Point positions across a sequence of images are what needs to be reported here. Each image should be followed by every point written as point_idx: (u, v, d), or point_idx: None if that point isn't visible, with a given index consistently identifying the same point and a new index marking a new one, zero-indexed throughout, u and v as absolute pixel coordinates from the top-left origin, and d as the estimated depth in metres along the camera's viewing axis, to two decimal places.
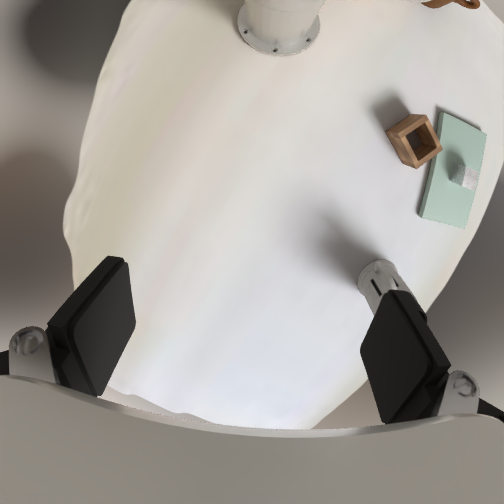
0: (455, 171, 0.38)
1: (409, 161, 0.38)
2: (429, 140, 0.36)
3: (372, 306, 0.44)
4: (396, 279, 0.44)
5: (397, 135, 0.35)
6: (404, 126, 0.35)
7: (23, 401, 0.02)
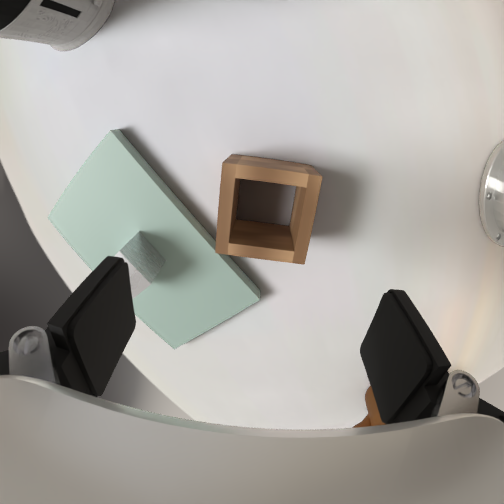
0: (150, 255, 0.23)
1: (242, 161, 0.19)
2: (246, 236, 0.21)
3: None
4: (54, 15, 0.10)
5: (315, 173, 0.18)
6: None
7: (23, 401, 0.02)
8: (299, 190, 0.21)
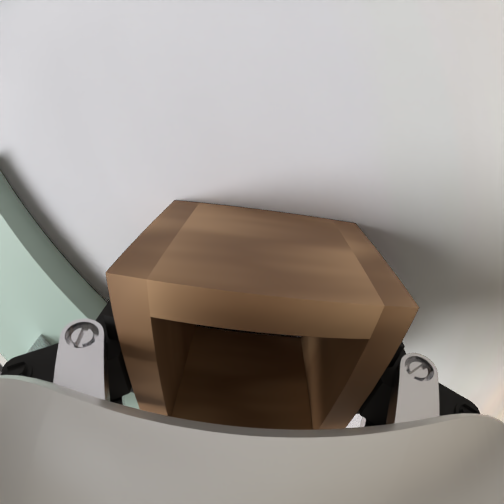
0: None
1: (177, 248, 0.06)
2: (210, 392, 0.09)
3: None
4: None
5: (395, 290, 0.06)
6: None
7: (23, 401, 0.02)
8: None
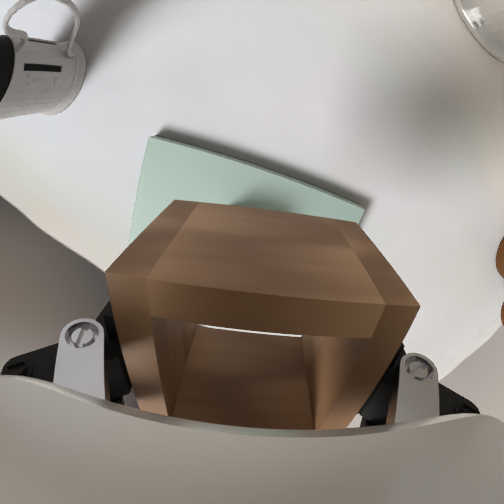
0: None
1: (177, 247, 0.06)
2: (210, 391, 0.09)
3: None
4: (40, 75, 0.14)
5: (396, 289, 0.06)
6: None
7: (23, 401, 0.02)
8: None
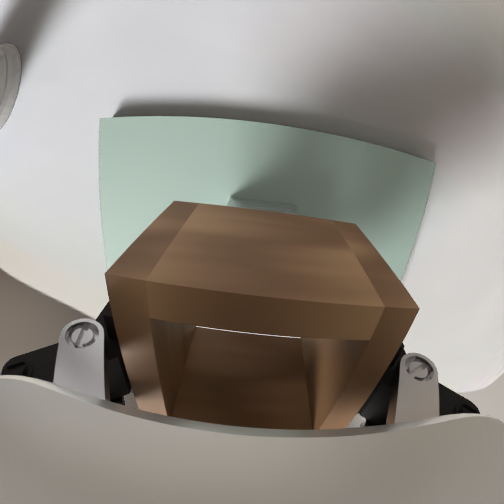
0: (270, 207, 0.14)
1: (177, 249, 0.06)
2: (210, 392, 0.09)
3: None
4: None
5: (396, 291, 0.06)
6: None
7: (23, 401, 0.02)
8: None
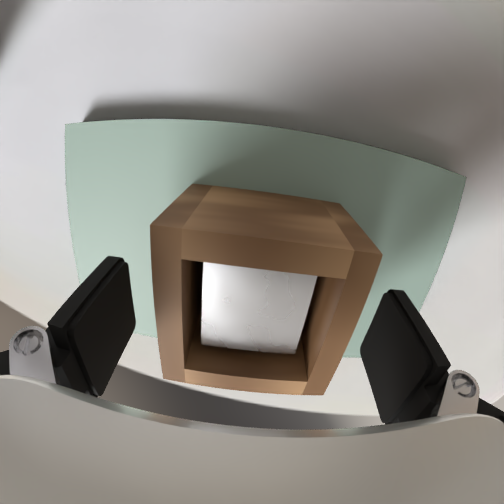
0: None
1: (201, 212, 0.08)
2: None
3: None
4: None
5: (365, 243, 0.08)
6: None
7: (23, 401, 0.02)
8: None
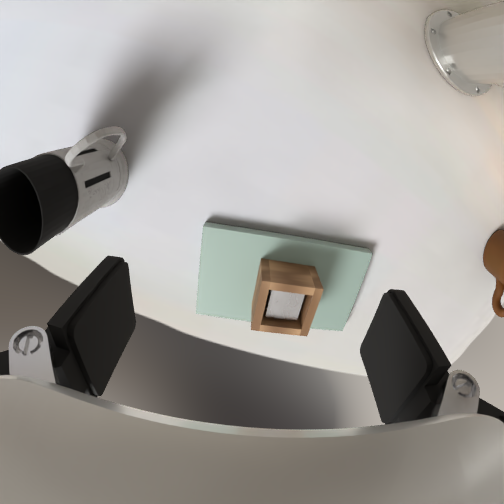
0: None
1: (272, 275, 0.29)
2: (270, 317, 0.32)
3: None
4: (97, 187, 0.24)
5: (319, 285, 0.29)
6: None
7: (23, 401, 0.02)
8: None
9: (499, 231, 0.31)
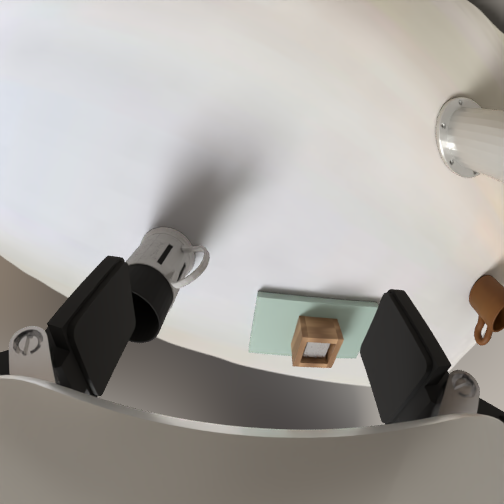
0: None
1: (308, 331, 0.40)
2: None
3: (139, 255, 0.32)
4: (180, 280, 0.35)
5: (340, 336, 0.39)
6: None
7: (23, 401, 0.02)
8: None
9: (483, 277, 0.40)
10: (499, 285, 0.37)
